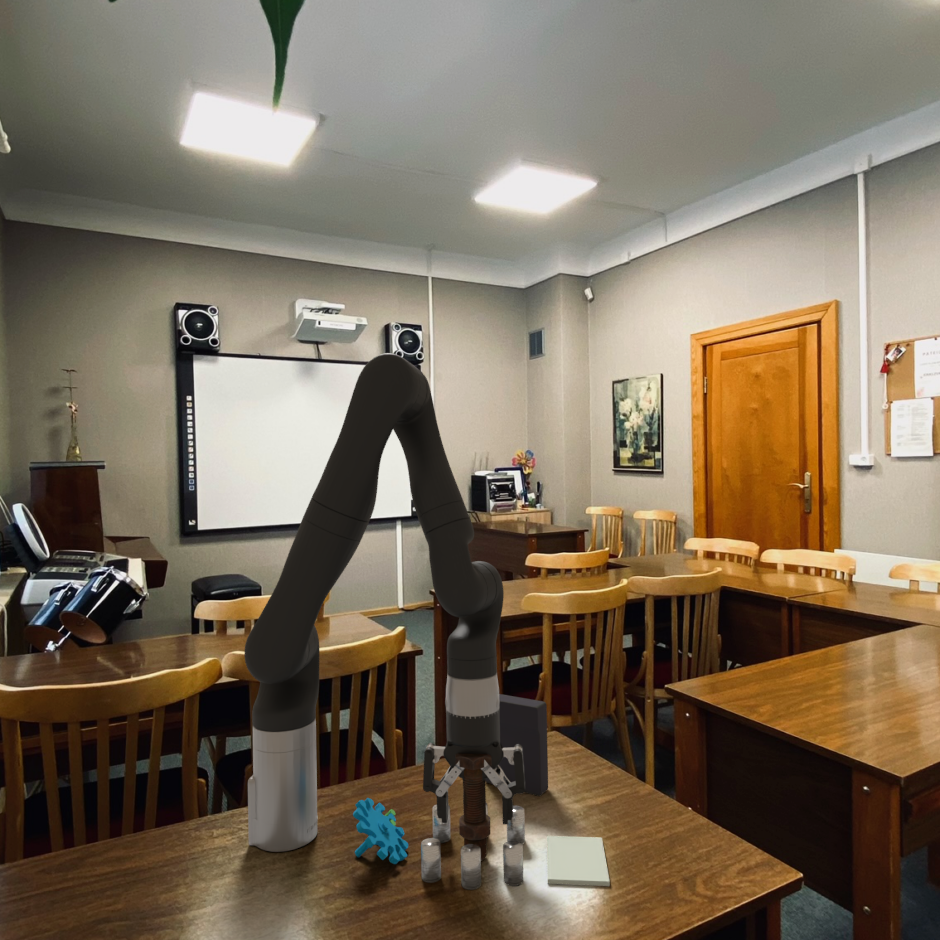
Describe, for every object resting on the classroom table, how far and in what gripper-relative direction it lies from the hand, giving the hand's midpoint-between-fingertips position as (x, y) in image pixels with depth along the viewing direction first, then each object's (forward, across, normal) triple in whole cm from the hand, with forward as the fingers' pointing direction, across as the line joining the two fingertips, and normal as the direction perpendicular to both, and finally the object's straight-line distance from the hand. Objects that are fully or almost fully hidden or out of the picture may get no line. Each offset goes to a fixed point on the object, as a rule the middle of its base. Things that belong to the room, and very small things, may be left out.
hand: (475, 821), depth 96 cm
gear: (+5, +13, 0) cm, 14 cm away
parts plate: (+5, -14, 0) cm, 15 cm away
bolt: (+5, 0, 0) cm, 5 cm away
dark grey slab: (+5, -5, -23) cm, 24 cm away
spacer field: (+5, 0, 0) cm, 5 cm away
